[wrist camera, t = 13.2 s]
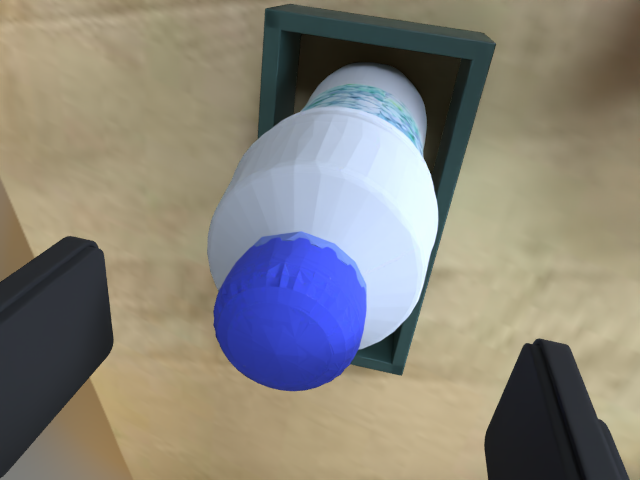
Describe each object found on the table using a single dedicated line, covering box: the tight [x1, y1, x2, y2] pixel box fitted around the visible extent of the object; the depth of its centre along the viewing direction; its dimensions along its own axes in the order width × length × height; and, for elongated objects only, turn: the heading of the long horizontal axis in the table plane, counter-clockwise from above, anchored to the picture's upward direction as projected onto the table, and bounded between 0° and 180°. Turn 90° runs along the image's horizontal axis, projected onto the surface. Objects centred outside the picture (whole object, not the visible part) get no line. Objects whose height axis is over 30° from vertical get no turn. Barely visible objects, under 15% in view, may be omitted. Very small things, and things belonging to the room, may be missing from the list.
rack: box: [258, 4, 496, 376], centre depth 27 cm, size 10×19×4 cm, turn 173°
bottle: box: [207, 62, 438, 391], centre depth 18 cm, size 7×7×20 cm
